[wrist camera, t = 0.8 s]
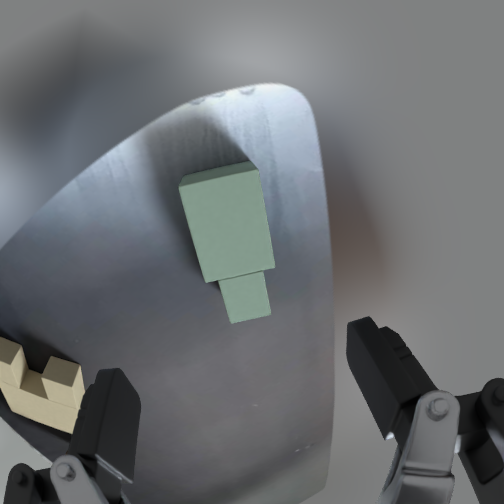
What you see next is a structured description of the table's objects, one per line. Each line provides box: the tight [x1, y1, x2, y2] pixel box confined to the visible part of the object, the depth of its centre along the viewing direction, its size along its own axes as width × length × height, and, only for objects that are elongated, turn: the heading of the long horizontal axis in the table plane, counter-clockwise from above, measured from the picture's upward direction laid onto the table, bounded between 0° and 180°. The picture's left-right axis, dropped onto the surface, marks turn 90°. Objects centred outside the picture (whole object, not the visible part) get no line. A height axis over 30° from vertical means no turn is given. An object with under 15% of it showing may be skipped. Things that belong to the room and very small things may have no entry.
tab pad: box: [178, 161, 275, 323], centre depth 22 cm, size 11×5×4 cm, turn 10°
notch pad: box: [0, 337, 85, 434], centre depth 27 cm, size 12×12×4 cm
